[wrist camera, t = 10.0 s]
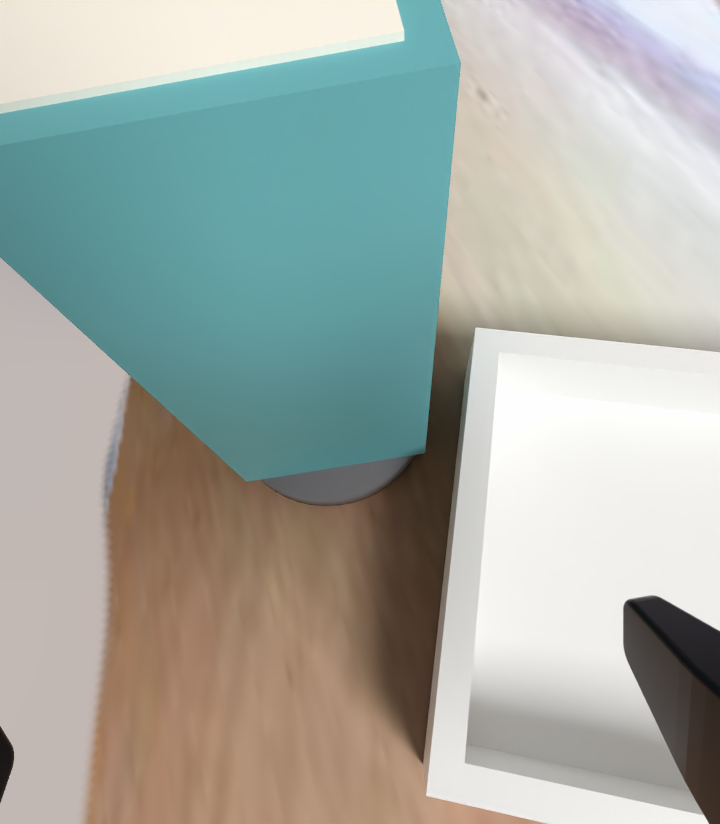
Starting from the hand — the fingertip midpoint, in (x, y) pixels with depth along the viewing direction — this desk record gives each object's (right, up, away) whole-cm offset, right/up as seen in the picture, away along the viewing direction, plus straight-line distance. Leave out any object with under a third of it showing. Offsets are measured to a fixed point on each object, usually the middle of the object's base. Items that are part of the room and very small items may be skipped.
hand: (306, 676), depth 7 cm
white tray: (+10, -1, +9) cm, 13 cm away
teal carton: (0, +4, +11) cm, 12 cm away
